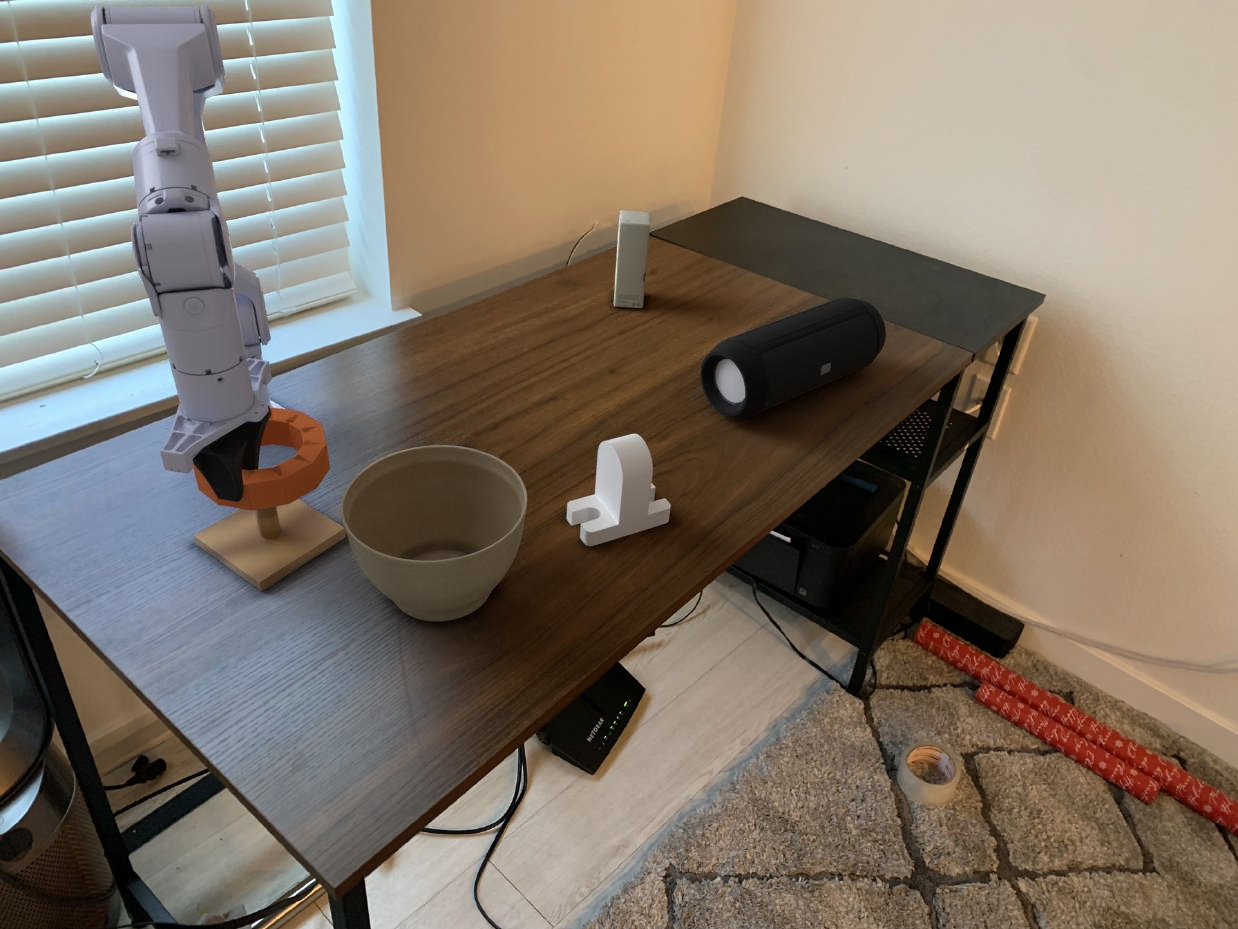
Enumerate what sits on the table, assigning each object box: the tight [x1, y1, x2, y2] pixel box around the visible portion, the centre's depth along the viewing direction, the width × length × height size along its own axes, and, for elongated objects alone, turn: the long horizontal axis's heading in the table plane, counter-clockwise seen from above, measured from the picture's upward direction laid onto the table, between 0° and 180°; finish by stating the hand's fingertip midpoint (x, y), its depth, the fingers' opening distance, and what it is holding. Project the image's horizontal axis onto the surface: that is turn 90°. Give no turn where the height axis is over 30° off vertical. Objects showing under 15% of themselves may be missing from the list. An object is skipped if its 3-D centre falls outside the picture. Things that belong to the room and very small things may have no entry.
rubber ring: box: [192, 408, 331, 510], centre depth 88 cm, size 12×12×3 cm
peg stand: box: [193, 498, 347, 592], centre depth 91 cm, size 10×10×6 cm
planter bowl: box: [339, 444, 528, 622], centre depth 86 cm, size 16×16×11 cm
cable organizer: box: [566, 433, 671, 547], centre depth 96 cm, size 5×10×10 cm, turn 119°
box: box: [613, 209, 651, 309], centre depth 135 cm, size 5×4×13 cm
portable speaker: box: [700, 297, 887, 418], centre depth 119 cm, size 26×10×10 cm, turn 129°
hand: (237, 488), depth 84 cm, fingers closed on rubber ring, 2 cm apart
